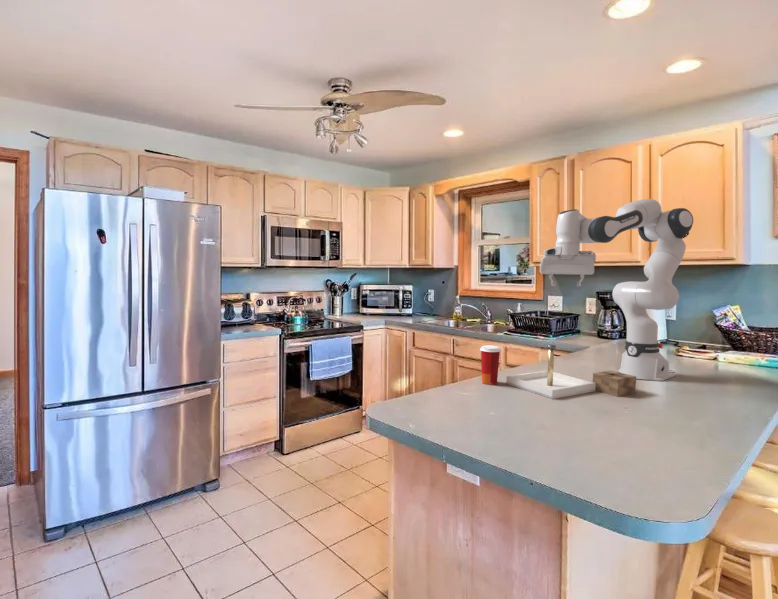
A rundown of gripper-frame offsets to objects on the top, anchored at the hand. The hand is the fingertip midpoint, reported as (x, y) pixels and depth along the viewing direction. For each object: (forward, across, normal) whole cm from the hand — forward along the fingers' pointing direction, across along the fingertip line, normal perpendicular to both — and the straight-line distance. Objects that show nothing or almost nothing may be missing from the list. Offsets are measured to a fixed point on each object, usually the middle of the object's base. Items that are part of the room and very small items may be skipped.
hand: (565, 286), depth 179 cm
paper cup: (+37, +26, +20) cm, 50 cm away
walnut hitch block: (+37, -18, +13) cm, 43 cm away
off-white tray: (+37, +4, +17) cm, 41 cm away
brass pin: (+36, +4, +17) cm, 40 cm away
